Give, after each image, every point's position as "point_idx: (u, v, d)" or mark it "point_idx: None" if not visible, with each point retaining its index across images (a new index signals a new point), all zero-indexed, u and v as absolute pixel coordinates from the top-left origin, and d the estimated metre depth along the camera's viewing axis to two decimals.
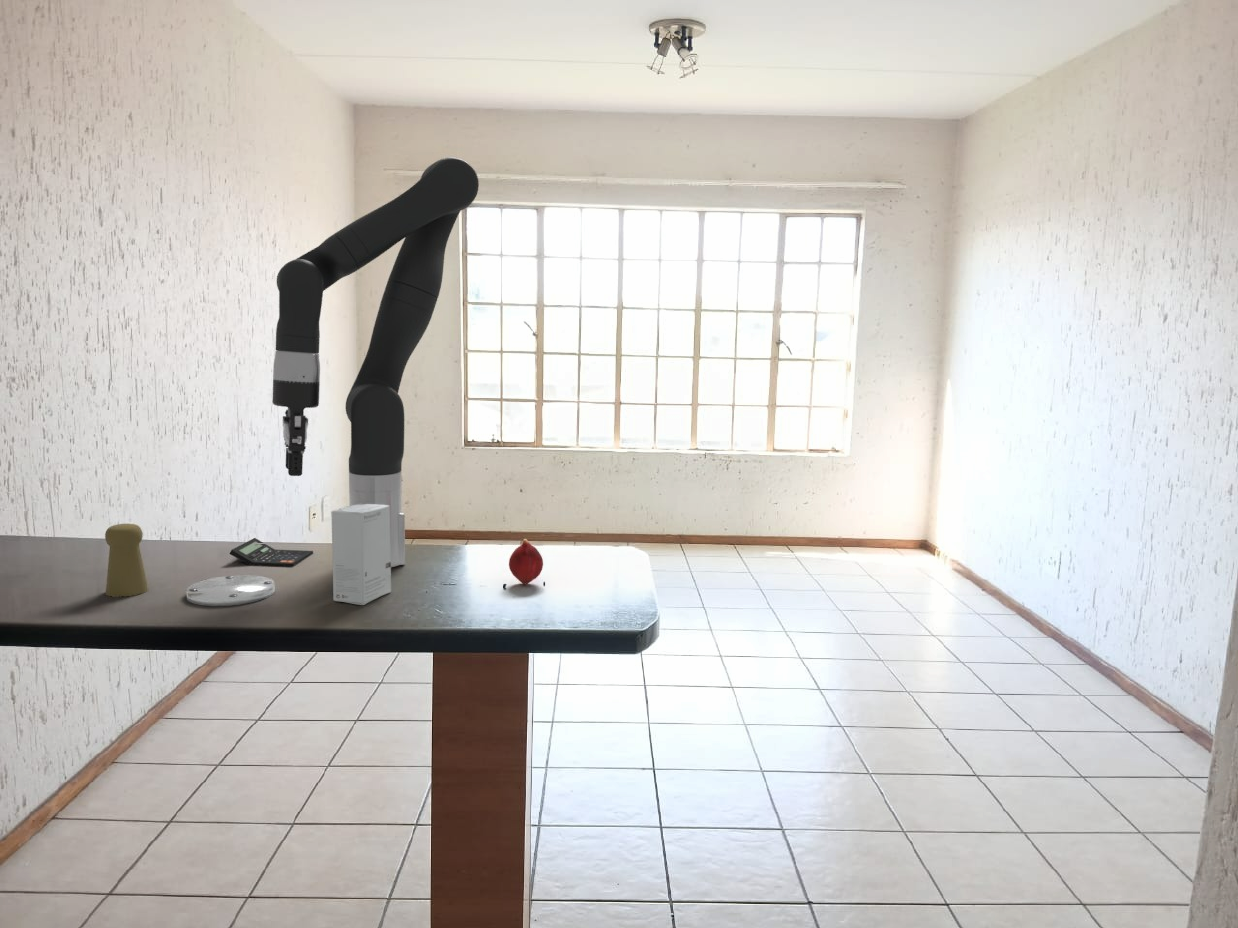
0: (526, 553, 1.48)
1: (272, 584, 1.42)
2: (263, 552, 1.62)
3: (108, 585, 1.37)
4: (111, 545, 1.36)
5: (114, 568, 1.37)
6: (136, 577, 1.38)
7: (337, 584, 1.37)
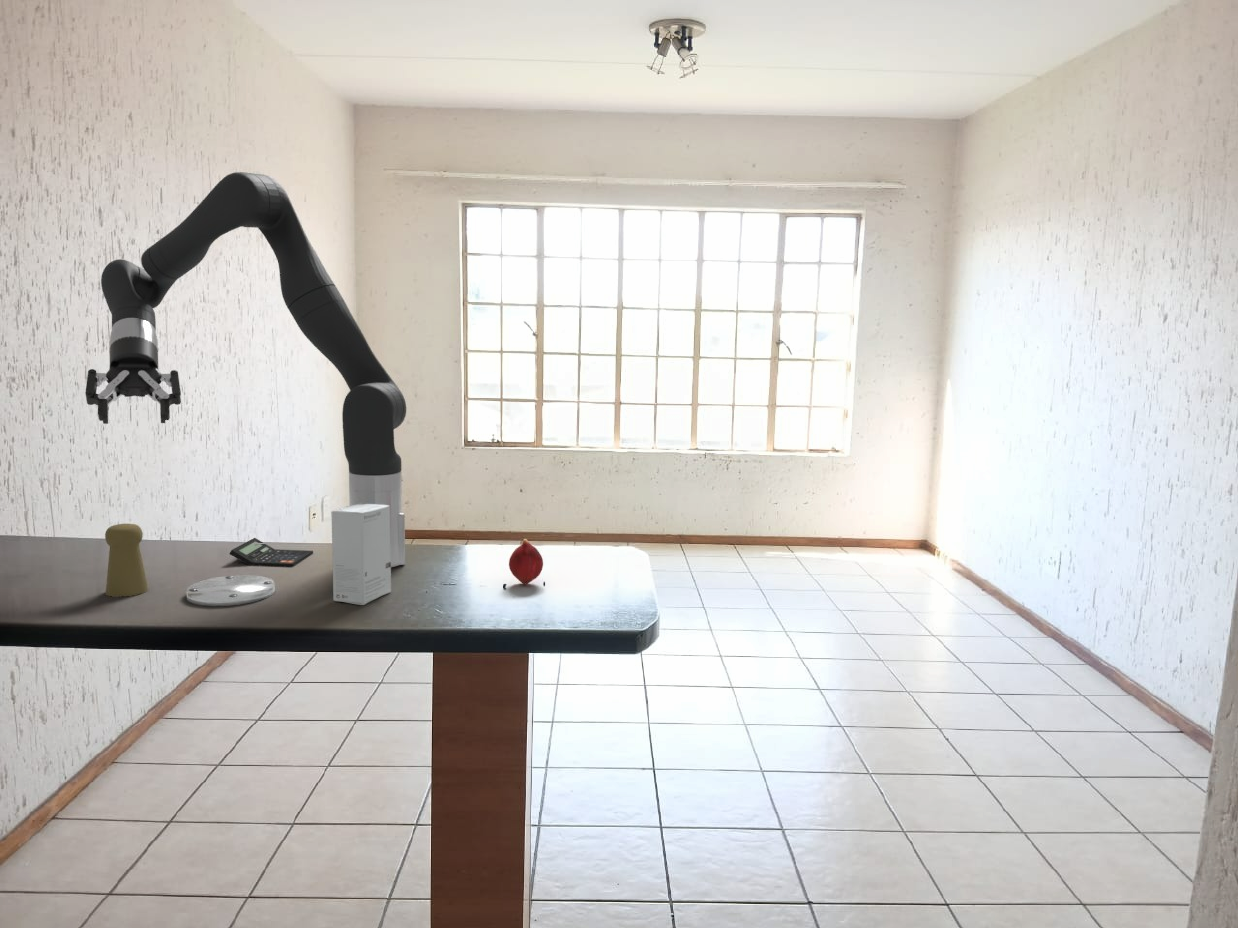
0: (526, 553, 1.48)
1: (272, 584, 1.42)
2: (263, 552, 1.62)
3: (108, 585, 1.37)
4: (111, 545, 1.36)
5: (114, 568, 1.37)
6: (136, 576, 1.38)
7: (337, 584, 1.37)
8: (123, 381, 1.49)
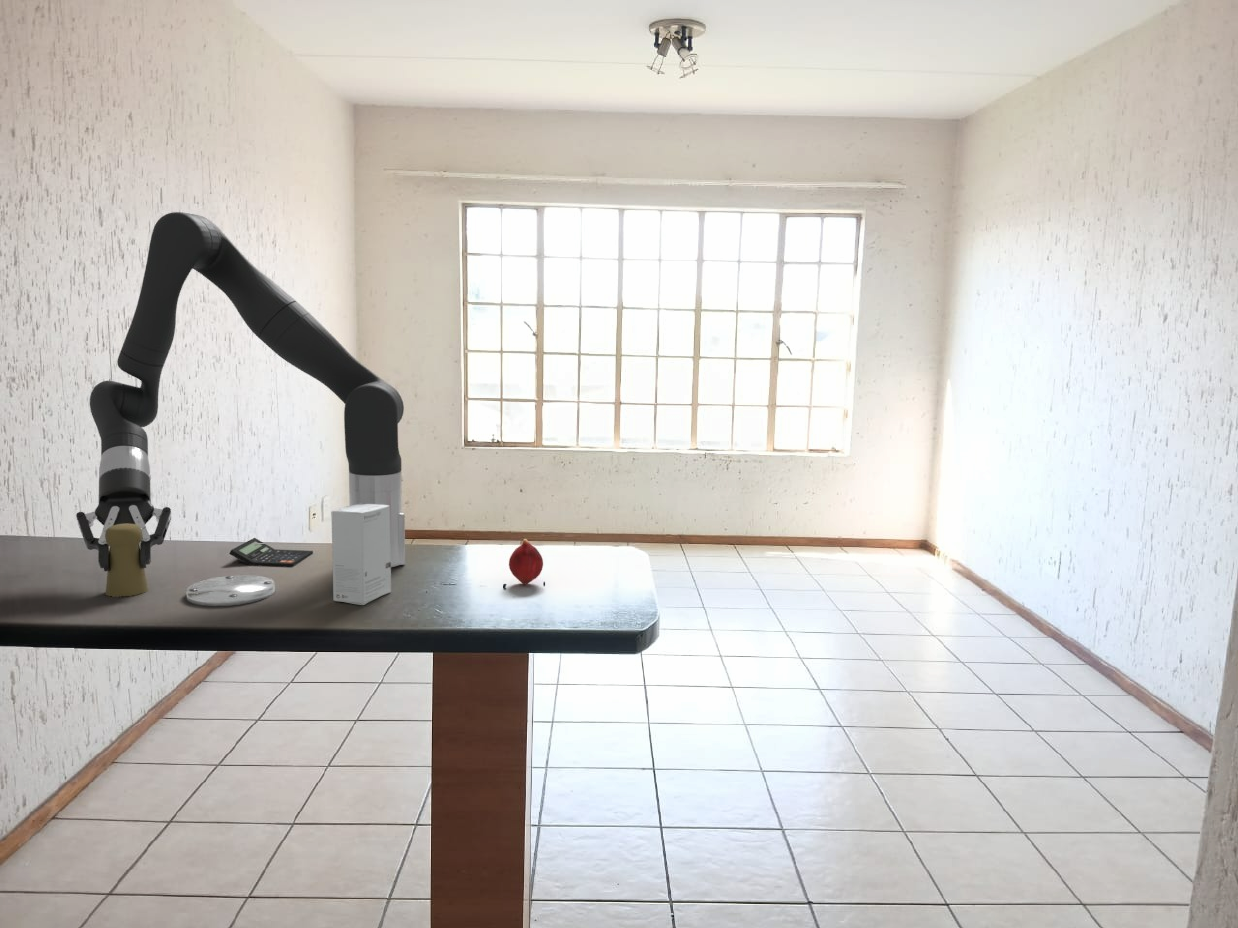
0: (526, 553, 1.48)
1: (272, 584, 1.42)
2: (263, 552, 1.62)
3: (108, 585, 1.37)
4: (111, 545, 1.36)
5: (114, 568, 1.37)
6: (136, 576, 1.38)
7: (337, 584, 1.37)
8: (116, 518, 1.40)
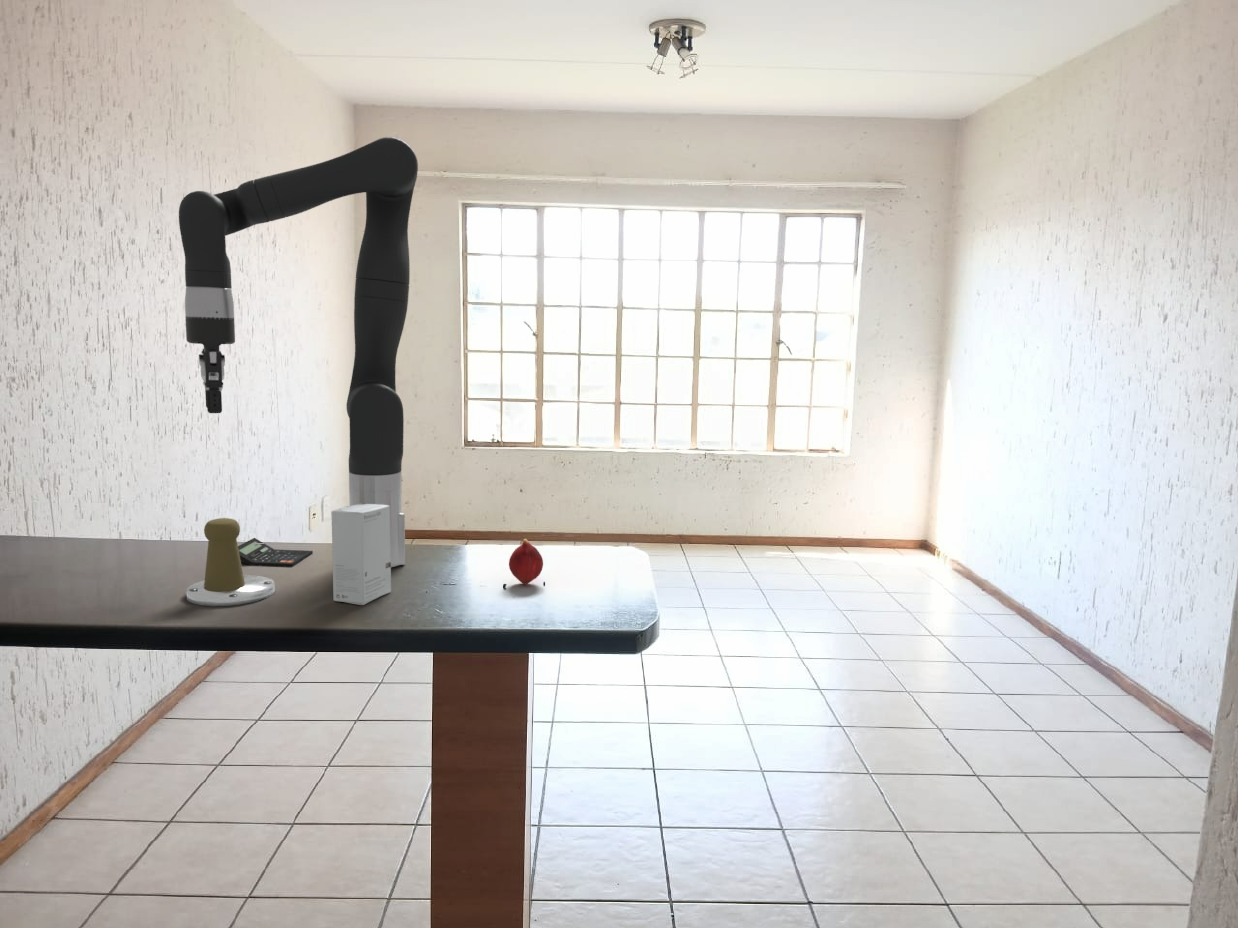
0: (526, 553, 1.48)
1: (272, 584, 1.42)
2: (263, 552, 1.62)
3: (207, 579, 1.38)
4: (211, 539, 1.37)
5: (213, 562, 1.37)
6: (235, 571, 1.39)
7: (337, 584, 1.37)
8: None
